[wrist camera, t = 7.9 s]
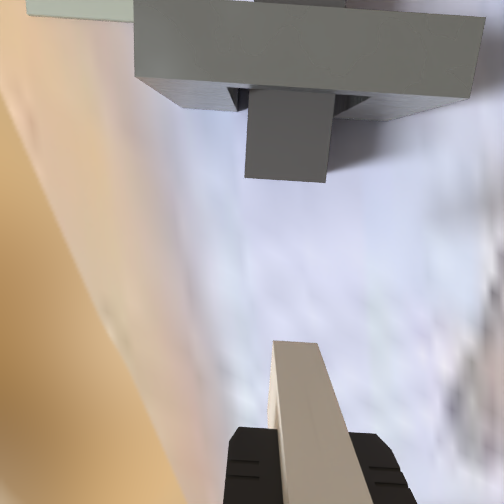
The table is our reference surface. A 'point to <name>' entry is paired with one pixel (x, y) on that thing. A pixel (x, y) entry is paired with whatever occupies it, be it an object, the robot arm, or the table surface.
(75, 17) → the mat
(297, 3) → the two-tone upright block
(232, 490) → the robot arm
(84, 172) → the table surface
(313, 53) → the frame
